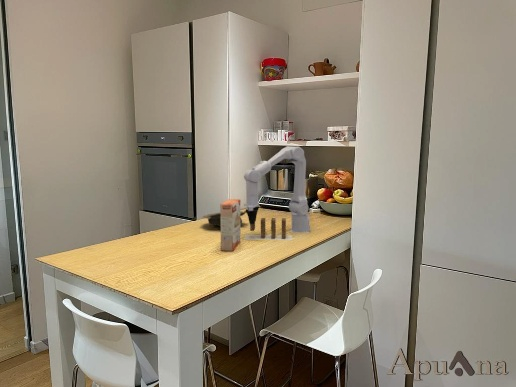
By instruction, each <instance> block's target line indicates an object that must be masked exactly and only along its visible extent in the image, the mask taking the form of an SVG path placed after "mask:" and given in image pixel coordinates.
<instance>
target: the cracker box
mask: <svg viewBox="0 0 516 387" xmlns="http://www.w3.org/2000/svg"><path fill="white" fill-rule="evenodd" d="M219 205H220V207H219V208H220V209H219V210H220V212H219V213H220V214H221V226H220V251H224V252H233V251H234V250H235V249H236V248H237V247H238V246H239V244H240V243H241V226H240V217H241V216H240V211H241V199H237V198H236V199H235V198H231V199H230V198H229V199H227V200H225V201H224V202H222V203H220V204H219Z"/></svg>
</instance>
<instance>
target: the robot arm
mask: <svg viewBox="0 0 516 387" xmlns="http://www.w3.org/2000/svg"><path fill="white" fill-rule="evenodd" d="M283 160H289V161H290V162H291V163H292V164H294V179H293V180H294V182H293V196H292V197H291V198H290V201H289V202H290V203H289V205H288V210H289V212H290V215H291V228H290V233H310V229H311V225H310V214H308V213H309V208H310V207H309V205H308V200H307V198H306V196H305V193H306V192H305V190H306V188H305V187H306V171H307V160H306V157H305V150H304V149H303V148H302V147H300V146H291V145H286V146H285V147H284V148H282V149H281V150H279V152H277V153H276V154H275V155H273V156H272V157H270V159H268V160H260V161H259V163H258V164H257V165H255V166H253V167H251V169H247V170H246V171H245V173H244V175H243V179H244V180H245V182H246V183H245V184H246V186H245V187H246V188H245V190H246V192H245V195H246V203H244V204H243V206H246V208H247V209H245V211H246V213H245V214H246V215H247V217H248V218H247V219H248V222H249V225H250V224H254V223H255V224H256V221H257V216H258V212H259V208H260V206H259V205H260V204H259V181H260V180H261V179H262V177H264V175H266V174H268V173H270V171H271V169H272V167H274V166H275V165H277V164H278V163H280V162H282V161H283Z"/></svg>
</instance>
